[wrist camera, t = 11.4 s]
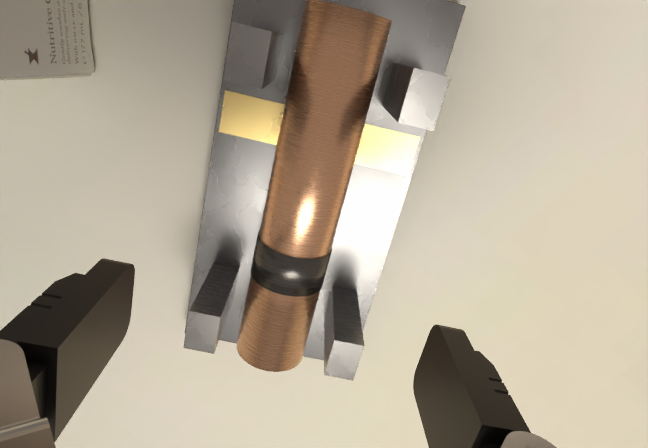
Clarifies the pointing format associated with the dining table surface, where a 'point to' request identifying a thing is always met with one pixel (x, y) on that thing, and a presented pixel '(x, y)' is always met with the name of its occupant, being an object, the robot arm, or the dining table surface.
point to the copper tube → (309, 178)
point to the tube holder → (365, 182)
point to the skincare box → (44, 39)
